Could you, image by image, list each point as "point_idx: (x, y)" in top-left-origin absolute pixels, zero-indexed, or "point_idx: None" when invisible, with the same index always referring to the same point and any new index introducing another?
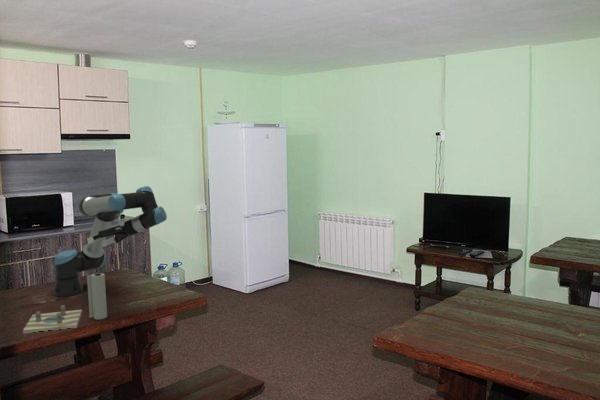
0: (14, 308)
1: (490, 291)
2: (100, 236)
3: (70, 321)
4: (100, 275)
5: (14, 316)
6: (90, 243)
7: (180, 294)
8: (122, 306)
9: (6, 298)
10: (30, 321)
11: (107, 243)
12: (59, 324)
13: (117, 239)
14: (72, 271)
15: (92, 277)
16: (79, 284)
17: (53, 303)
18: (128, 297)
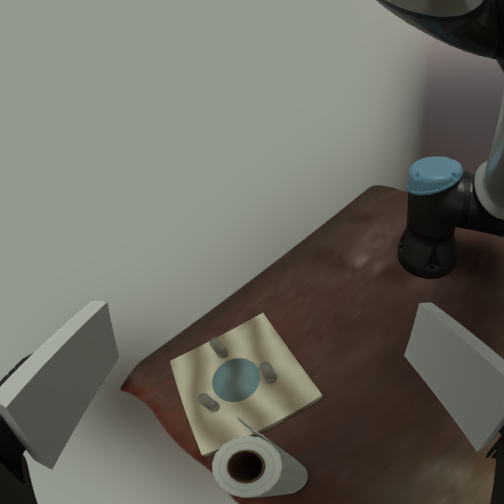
0: (307, 249)
1: None
2: None
3: (223, 428)
4: (235, 485)
5: (266, 281)
6: (109, 365)
7: None
8: (402, 468)
9: (346, 206)
10: (220, 339)
11: (438, 377)
12: (202, 413)
13: (495, 487)
14: (434, 224)
15: (217, 455)
16: (444, 258)
17: (360, 284)
18: None
